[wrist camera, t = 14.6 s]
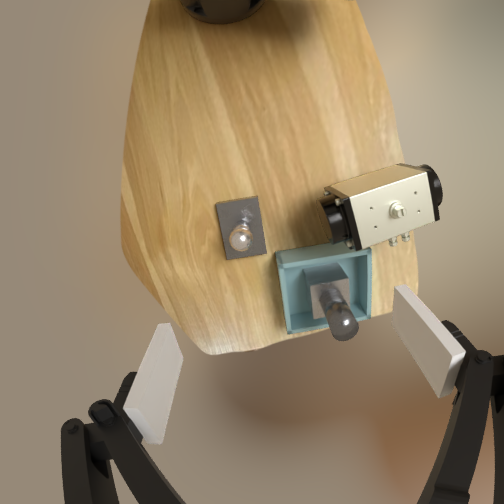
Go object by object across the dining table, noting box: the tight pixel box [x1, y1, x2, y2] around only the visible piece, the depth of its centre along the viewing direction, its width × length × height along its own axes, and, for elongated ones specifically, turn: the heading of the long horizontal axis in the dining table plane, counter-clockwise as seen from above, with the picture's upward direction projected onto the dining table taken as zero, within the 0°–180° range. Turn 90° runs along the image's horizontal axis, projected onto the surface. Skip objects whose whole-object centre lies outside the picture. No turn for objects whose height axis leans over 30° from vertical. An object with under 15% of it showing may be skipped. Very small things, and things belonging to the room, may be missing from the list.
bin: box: [275, 242, 372, 334], centre depth 53 cm, size 14×16×6 cm
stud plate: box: [216, 196, 267, 260], centre depth 48 cm, size 10×7×9 cm
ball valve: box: [316, 163, 443, 251], centre depth 42 cm, size 18×8×18 cm, turn 110°
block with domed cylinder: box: [303, 262, 359, 341], centre depth 48 cm, size 7×7×16 cm
